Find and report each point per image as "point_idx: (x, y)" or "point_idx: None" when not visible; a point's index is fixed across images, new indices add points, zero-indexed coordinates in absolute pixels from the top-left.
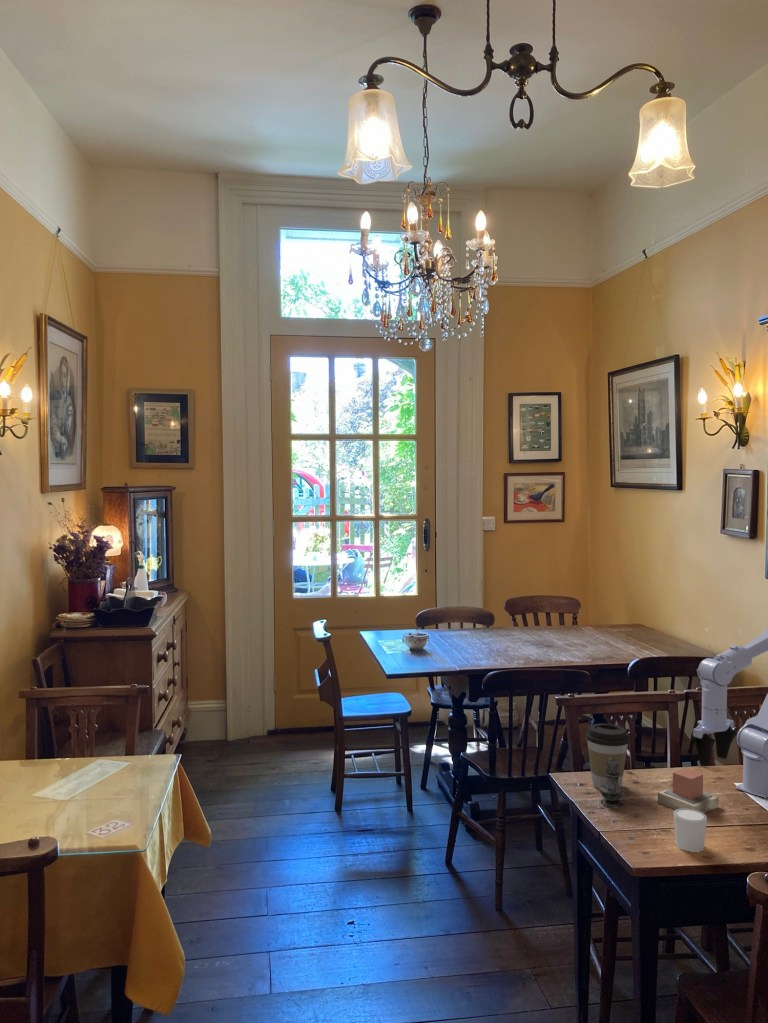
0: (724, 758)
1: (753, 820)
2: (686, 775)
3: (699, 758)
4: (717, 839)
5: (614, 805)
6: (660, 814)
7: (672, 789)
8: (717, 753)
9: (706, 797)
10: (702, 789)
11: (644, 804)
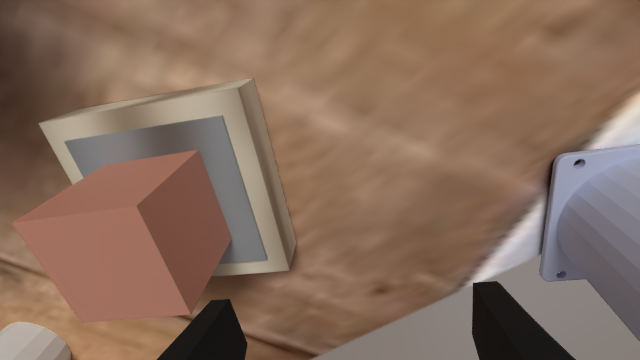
0: (473, 335)
1: (322, 339)
2: (81, 283)
3: (188, 330)
4: (131, 354)
5: None
6: (39, 194)
7: (125, 136)
8: (484, 305)
9: (227, 260)
10: (220, 254)
11: (8, 100)
